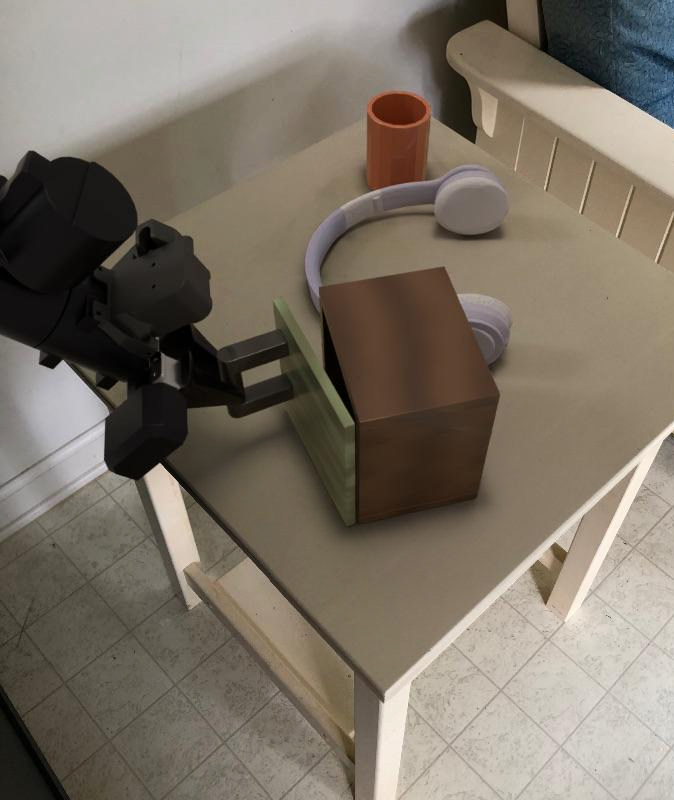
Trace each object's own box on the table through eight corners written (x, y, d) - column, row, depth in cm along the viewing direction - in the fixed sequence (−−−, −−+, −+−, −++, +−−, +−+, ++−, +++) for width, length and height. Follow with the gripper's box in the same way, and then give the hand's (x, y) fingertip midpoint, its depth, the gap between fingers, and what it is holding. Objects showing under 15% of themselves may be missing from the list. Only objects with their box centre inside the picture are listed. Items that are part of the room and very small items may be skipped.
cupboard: (359, 524, 66) (359, 422, 55) (324, 398, 73) (318, 286, 62) (477, 498, 68) (500, 394, 57) (431, 378, 75) (444, 265, 64)
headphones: (507, 214, 89) (324, 209, 91) (512, 159, 84) (317, 155, 85) (509, 373, 76) (294, 365, 77) (516, 321, 70) (283, 313, 71)
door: (284, 553, 64) (269, 456, 53) (227, 429, 71) (203, 321, 60) (355, 523, 66) (355, 423, 55) (293, 405, 73) (282, 295, 62)
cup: (365, 198, 90) (366, 126, 83) (366, 160, 94) (367, 89, 87) (426, 199, 91) (431, 128, 83) (424, 162, 95) (430, 91, 87)
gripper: (116, 348, 45) (325, 437, 55) (121, 139, 55) (295, 246, 66) (12, 448, 50) (221, 511, 60) (35, 238, 61) (209, 323, 71)
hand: (239, 389), depth 64 cm, fingers closed on door, 2 cm apart
